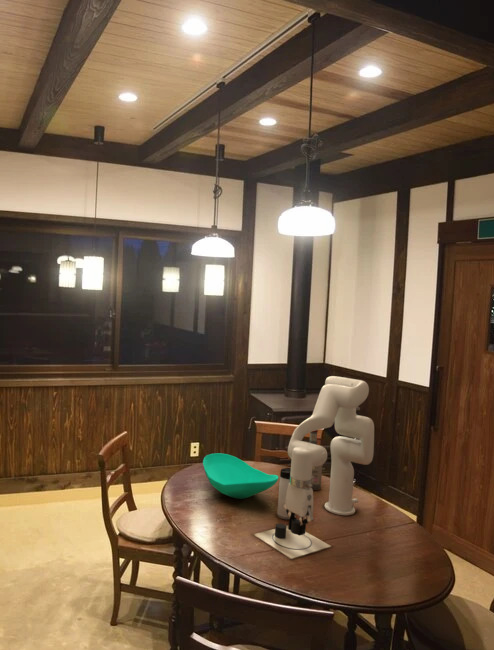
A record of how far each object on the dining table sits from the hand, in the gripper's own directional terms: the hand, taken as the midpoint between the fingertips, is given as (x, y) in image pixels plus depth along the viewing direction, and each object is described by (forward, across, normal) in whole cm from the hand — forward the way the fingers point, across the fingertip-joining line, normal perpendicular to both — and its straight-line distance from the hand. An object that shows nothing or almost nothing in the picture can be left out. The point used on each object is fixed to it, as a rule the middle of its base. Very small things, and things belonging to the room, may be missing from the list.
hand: (296, 531), depth 194 cm
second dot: (0, 0, 0) cm, 0 cm away
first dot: (+5, +8, 0) cm, 10 cm away
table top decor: (+6, +47, -11) cm, 49 cm away
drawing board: (+6, +4, -2) cm, 8 cm away
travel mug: (+6, +21, -15) cm, 27 cm away
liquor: (+6, +41, -50) cm, 65 cm away
